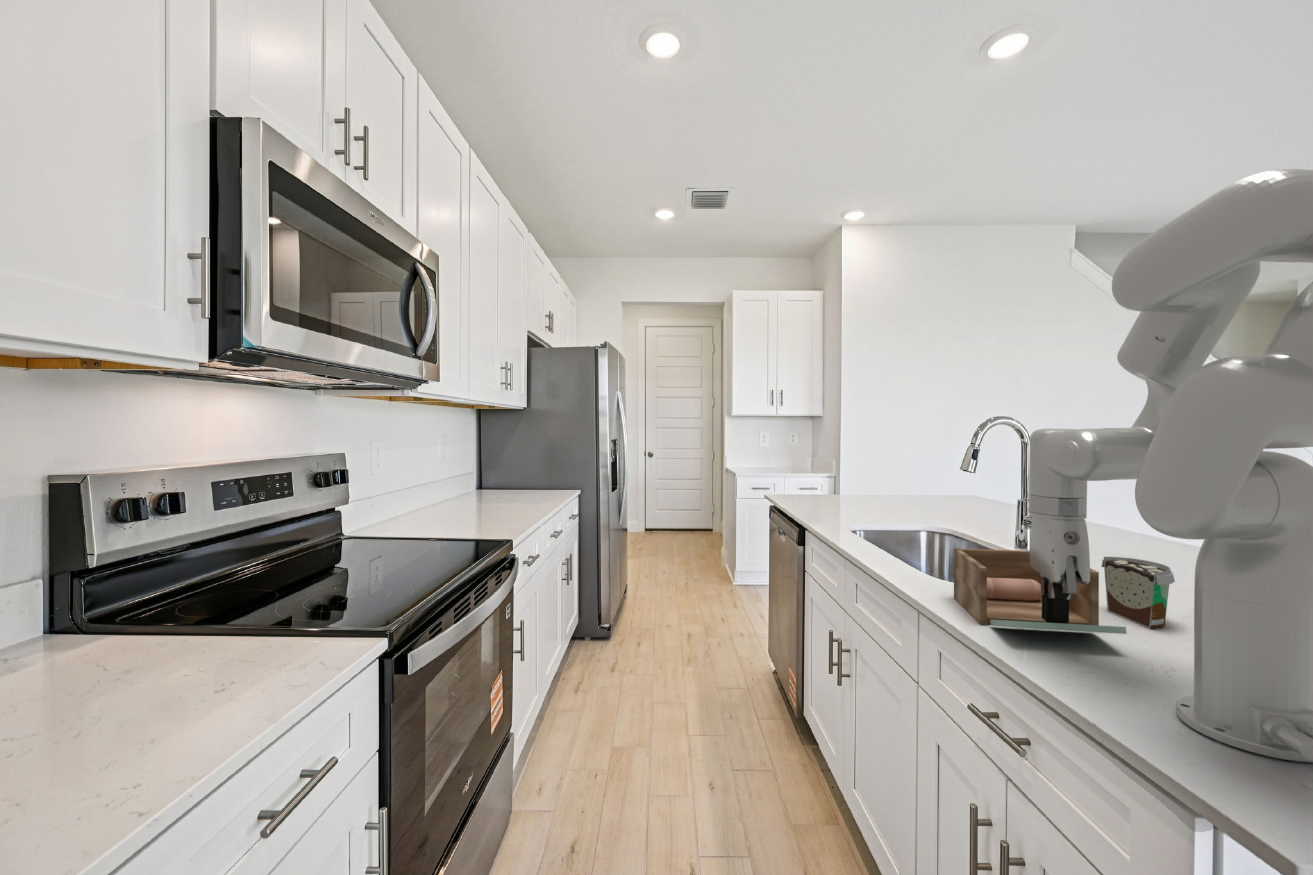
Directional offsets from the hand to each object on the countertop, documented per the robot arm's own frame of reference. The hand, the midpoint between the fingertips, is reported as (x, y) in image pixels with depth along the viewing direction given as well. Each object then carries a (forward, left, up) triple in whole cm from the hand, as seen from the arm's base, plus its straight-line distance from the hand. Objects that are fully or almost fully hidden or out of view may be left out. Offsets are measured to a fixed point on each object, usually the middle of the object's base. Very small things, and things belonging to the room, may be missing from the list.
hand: (1055, 621), depth 91 cm
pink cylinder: (+19, 0, -2) cm, 19 cm away
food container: (+15, -20, -4) cm, 26 cm away
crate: (+14, 0, -4) cm, 14 cm away
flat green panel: (+6, 0, -3) cm, 7 cm away
